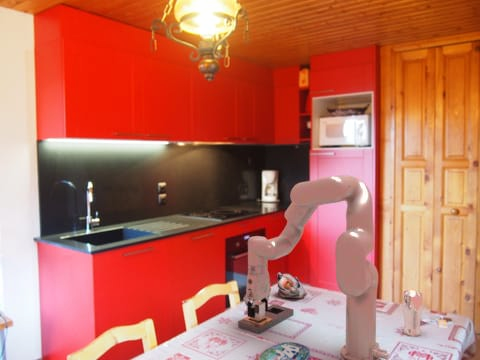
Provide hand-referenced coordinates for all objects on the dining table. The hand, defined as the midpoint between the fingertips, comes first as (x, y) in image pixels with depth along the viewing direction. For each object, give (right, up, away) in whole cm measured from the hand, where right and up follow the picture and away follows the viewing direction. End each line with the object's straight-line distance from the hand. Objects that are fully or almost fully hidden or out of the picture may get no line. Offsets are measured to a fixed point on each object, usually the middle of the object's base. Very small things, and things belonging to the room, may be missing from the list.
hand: (257, 313), depth 154 cm
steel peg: (0, -5, 0) cm, 5 cm away
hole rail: (+4, -5, +5) cm, 8 cm away
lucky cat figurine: (+18, -4, +36) cm, 40 cm away
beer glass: (+57, -6, -5) cm, 58 cm away
